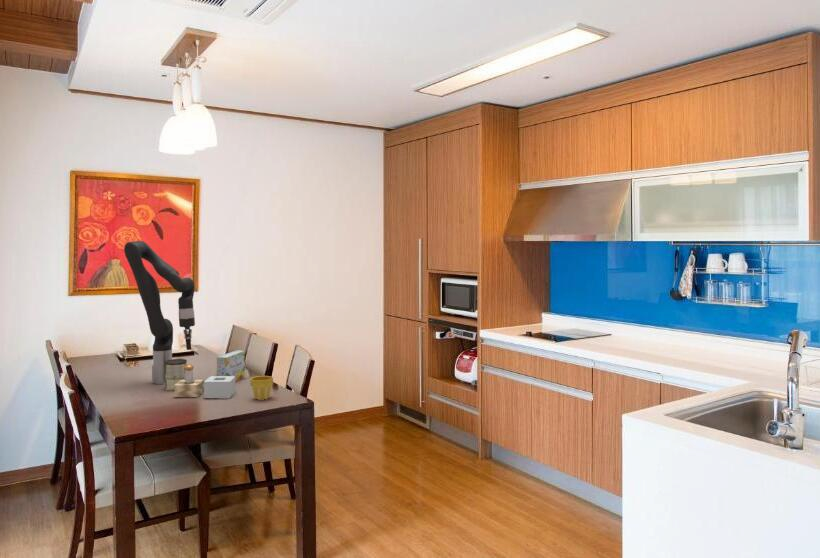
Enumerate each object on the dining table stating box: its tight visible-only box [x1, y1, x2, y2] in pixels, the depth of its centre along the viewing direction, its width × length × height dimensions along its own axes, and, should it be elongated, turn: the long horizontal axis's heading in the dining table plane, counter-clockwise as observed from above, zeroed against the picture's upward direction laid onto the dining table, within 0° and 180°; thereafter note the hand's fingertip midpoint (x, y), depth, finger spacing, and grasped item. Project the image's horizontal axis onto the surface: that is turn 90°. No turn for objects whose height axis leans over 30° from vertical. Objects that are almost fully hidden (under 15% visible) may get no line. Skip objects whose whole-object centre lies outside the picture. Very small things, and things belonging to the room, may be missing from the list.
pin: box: [184, 364, 195, 384], centre depth 297 cm, size 4×4×14 cm
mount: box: [173, 379, 205, 398], centre depth 297 cm, size 11×11×6 cm
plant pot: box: [250, 375, 274, 401], centre depth 291 cm, size 10×10×10 cm
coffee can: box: [165, 358, 188, 391], centre depth 309 cm, size 10×10×14 cm
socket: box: [203, 375, 237, 399], centre depth 296 cm, size 12×12×8 cm
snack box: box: [216, 349, 246, 382], centre depth 325 cm, size 21×6×15 cm, turn 168°
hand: (188, 348), depth 317 cm, fingers open, 8 cm apart
